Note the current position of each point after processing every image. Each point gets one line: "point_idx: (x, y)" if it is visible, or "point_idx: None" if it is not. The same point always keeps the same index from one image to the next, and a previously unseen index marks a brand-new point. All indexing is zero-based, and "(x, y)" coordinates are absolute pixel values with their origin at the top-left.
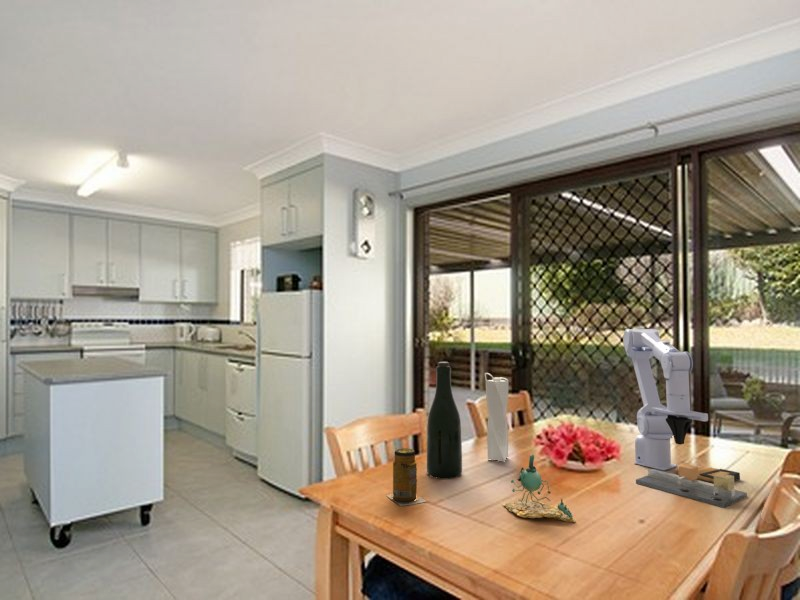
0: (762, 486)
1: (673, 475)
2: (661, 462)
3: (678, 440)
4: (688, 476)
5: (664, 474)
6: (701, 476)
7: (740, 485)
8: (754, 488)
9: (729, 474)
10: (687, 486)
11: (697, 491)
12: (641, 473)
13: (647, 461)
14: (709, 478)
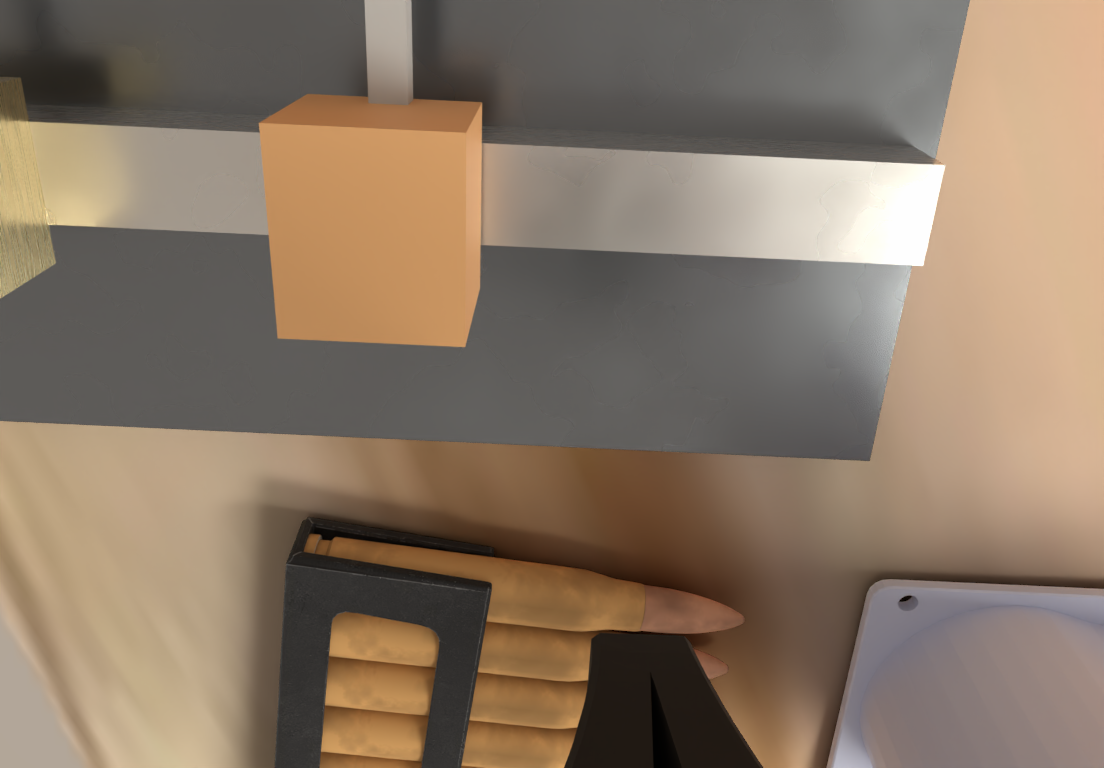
0: (97, 760)
1: (593, 186)
2: (937, 669)
3: (625, 672)
4: (336, 104)
5: (703, 153)
6: (470, 571)
7: (205, 667)
8: (98, 671)
9: (291, 749)
10: None
11: (237, 24)
12: (1045, 326)
13: (1088, 640)
14: (382, 559)
